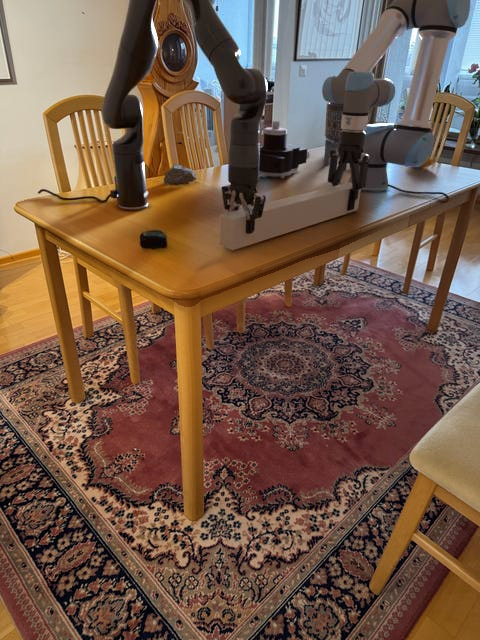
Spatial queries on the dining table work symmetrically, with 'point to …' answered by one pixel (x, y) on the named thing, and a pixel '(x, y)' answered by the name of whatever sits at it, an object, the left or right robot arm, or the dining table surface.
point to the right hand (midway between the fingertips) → (342, 207)
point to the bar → (286, 215)
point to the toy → (427, 163)
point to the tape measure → (153, 239)
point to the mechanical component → (279, 153)
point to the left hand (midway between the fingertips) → (242, 229)
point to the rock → (179, 175)
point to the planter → (334, 128)
